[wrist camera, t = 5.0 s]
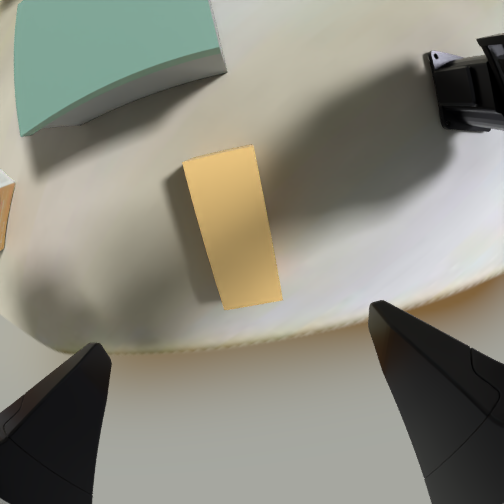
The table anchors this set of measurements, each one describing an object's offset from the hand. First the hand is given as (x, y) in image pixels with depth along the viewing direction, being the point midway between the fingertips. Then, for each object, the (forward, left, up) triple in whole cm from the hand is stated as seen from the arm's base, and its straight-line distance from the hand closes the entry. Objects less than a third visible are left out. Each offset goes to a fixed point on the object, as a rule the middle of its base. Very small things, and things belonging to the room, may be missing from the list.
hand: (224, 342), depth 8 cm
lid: (+4, -15, -6) cm, 17 cm away
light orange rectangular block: (0, 0, -12) cm, 12 cm away
